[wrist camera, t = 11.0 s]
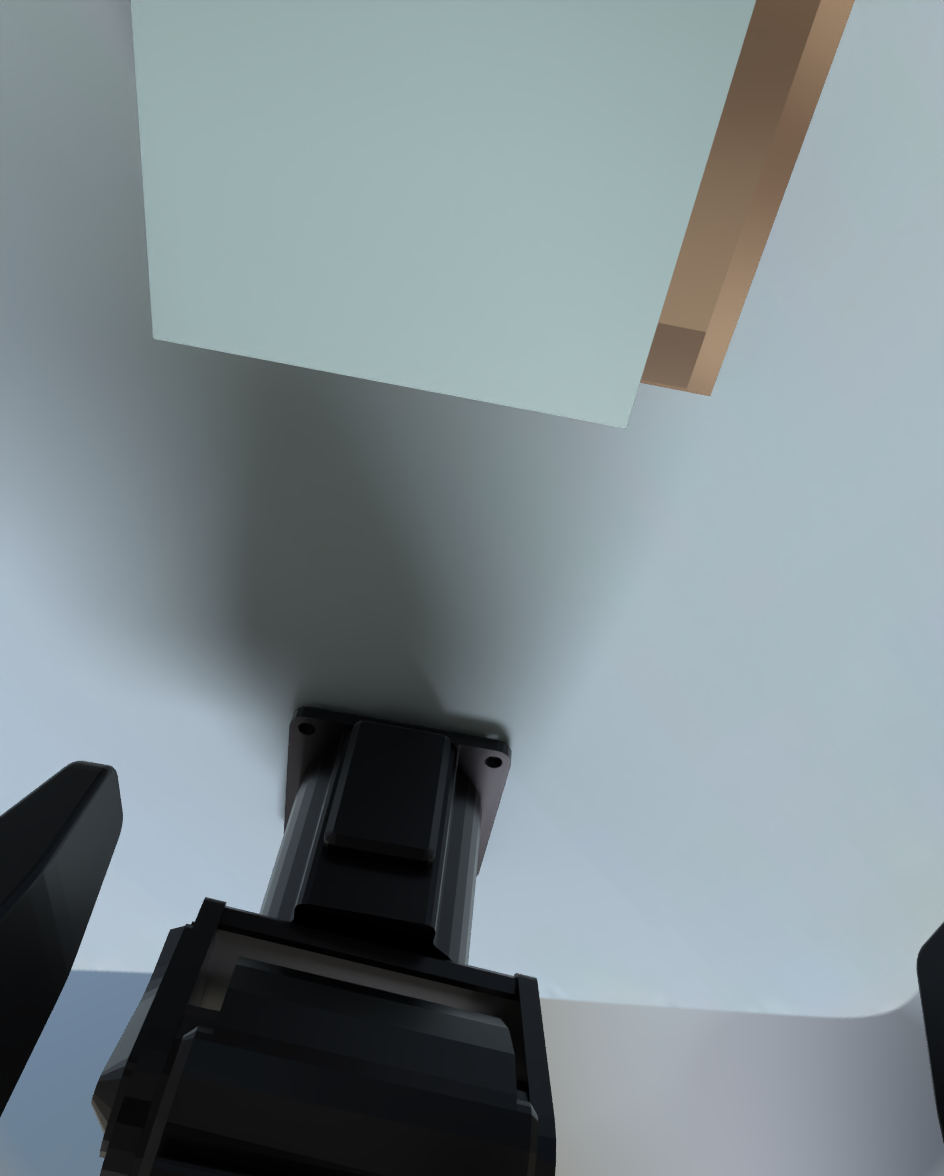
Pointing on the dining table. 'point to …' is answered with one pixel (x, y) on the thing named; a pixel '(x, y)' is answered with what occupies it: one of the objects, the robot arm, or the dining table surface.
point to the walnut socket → (743, 185)
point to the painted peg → (429, 184)
